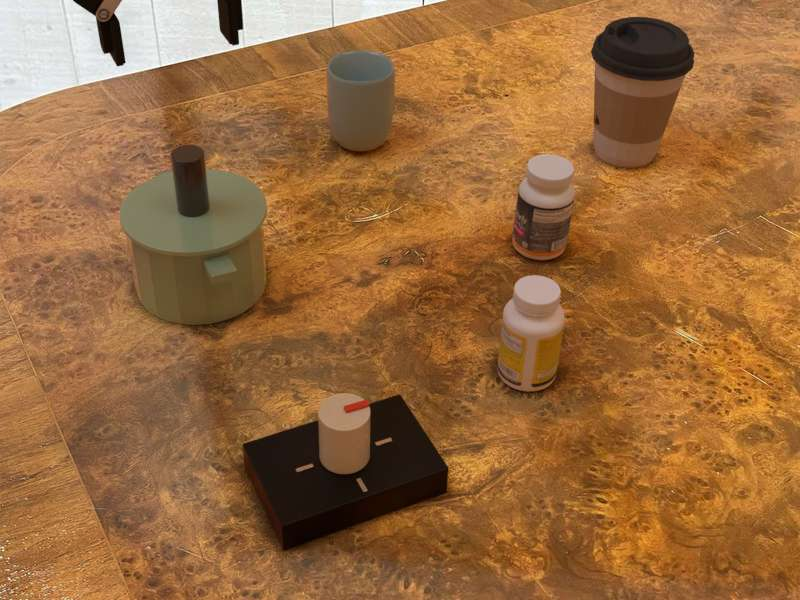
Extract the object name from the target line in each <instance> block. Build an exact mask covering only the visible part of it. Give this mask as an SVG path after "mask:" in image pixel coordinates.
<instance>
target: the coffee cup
mask: <svg viewBox="0 0 800 600" xmlns="http://www.w3.org/2000/svg"><path fill="white" fill-rule="evenodd" d="M590 53H591V57H592V60H594V87H593V88H594V90H593V91H594V94H593V95H594V96H593V138H592V141H593V146H594V153H595V154H596V156H597V158H599V159H600V160H602V161H603V162H604V163H606V164H608V165H611V166H614V167H619V168H624V169H625V168H626V169H635V168H642V167H645V166H647V165H649V164H650V163H651V162H652V161H653V160H654V158H655V156H656V155H657V154H658V151H659V148H660V145H661V143H662V141H663V137H664V135H665V132H666V129H667V126H668V124H669V121H670V118H671V115H672V114H673V110H674V107H675V105H676V101H677V99H678V96H679V93H680V91H681V89H682V86H683V82H684V80H685V78H686V75H687V74H688V73H689V72H690V71H691V70H693V68H694V64H695V60H694V58H695V55H696V54H695V51H694V49H693V47H692V45H691V44H690V38H689V36H688V34H687V33H686V32H685V31H684V30H683V29H682V28H680V27H679V26H678V25H676V24H674V23H671V22H669V21H665V20H662V19H659V18H655V17H654V18H653V17H648V16H629V17H622V18H618V19H615V20H612V21H611V22H609V23H608V24H606V25H605V28H604V30H603V31H602V32H600V33H599V34H598V35H596V36H595V39H594V41H593V44H592V47H591V50H590Z"/></svg>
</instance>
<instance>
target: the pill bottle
mask: <svg viewBox="0 0 800 600" xmlns="http://www.w3.org/2000/svg"><path fill="white" fill-rule="evenodd" d="M525 170H526V171H525V177H524V178H523V179H522V180H521V182H520V184H519V186H518V189H517V190H518V191H517V199H516V206H515V213H514V214H515V215H514V221H513V228H512V236H511V237H512V238H511V240H512V241H511V242H512V245H513V247H514V249H515V251H517V252H518V253H519V254H520V255H521V256H523V257H525V258H527V259H531V260H535V261H548V260H549V261H550V260H553V259H556V258H558V257H560V256H561V255H562V254H563V253H564V251H565V250H566V249H567V244H568V239H569V233H570V227H571V222H572V216H573V211H574V204H575V197H576V191H575V187H574V184H573V183H572V182H573V181H574V174H575V167H574V165H573V163H572V162H571V161H570V160H569V159H567V158H566V157H564V156H561V155H557V154H552V153H543V154H538V155H534V156H533V157H531V158H530V159H529V160H528V162H527V163H526V169H525Z"/></svg>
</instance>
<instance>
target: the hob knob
mask: <svg viewBox="0 0 800 600" xmlns="http://www.w3.org/2000/svg"><path fill="white" fill-rule="evenodd" d="M369 404H370V403H369V401H368V399H364V398H363V397H361V396H359V395H357V394H354V393H350V392H349V393H348V392H341V393H335V394H332V395H330V396H328V397H326V398H325V399H324V400H323V401H322V402H321V403H320V405H319V406H318V410H317V420H318V424H319V456H320V461H321V463H322V464H323V466H324V467H325V468H326V469H328V470H329V471H331V472H334V473H337V474H351V473H355V472H357V471H359V470H361V469H362V468H364V467H365V466H366V464H367V463H368V461H369V458H370V413H371V412H370V407H369Z"/></svg>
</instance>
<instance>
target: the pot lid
mask: <svg viewBox="0 0 800 600" xmlns="http://www.w3.org/2000/svg"><path fill="white" fill-rule="evenodd" d="M170 162H171V170H172V171H173V172H169V173H165V174H162V175H159V176H157V175H156V176H154V177H152V178H149V179H147V180H146V181H144V182H142V183H140V184H139V185H137V186H136V187H135V188H134V189H132V190H131V191H130V192H129V193H128V195H126V197H125V198H124V200H123V201H122V203H121V205H120V208H119V215H118V216H119V224H120V226H121V230H122V231H123V233H124V234H125V236H126V235H127V236H128V238H129V239H130V240H132V241H133V242H134V243H135V244H137V245H139V246H141V247H142V248H145V249H147V250H149V251H152V252H156V253H160V254H164V255H171V256H201V255H208V254H213V253H217V252H221V251H224V250H227V249H230V248H232V247H235V246H237V245H239V244H241V243H243V242H244V241H246V240H247V239H249V238H250V237H251V236H253V235H254V234H255V233H256V232H257V231H258V230H259V229H260V227H261V226H262V224H263V225H264V223H265V220H266V218H267V213H268V204H267V203H268V202H267V198H266V196H265V194H264V192H263V191H262V190H261V189H260V187H259V186H257V184H256V183H254V182H253V181H252V180H250V179H248V178H247V177H245V176H243V175H240V174H237V173H234V172H232V171H228V170H222V169H215V168H207V166H206V157H205V151H204V149H203V148H202V147H201V146H199V145H195V144H182V145H179V146H177V147H175V148H173V149H172V150H171V152H170Z"/></svg>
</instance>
